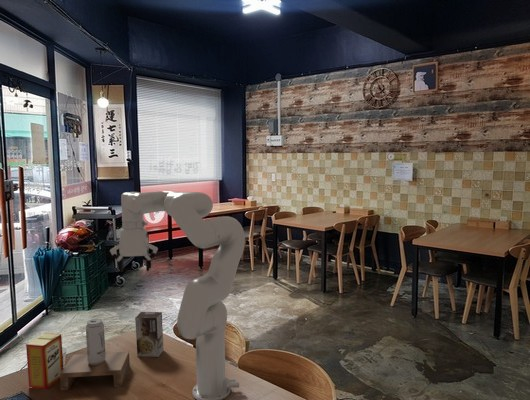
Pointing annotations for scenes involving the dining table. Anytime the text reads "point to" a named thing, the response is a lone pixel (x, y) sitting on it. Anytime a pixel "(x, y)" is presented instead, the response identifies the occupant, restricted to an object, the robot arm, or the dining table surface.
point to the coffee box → (149, 334)
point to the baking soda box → (44, 360)
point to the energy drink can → (95, 342)
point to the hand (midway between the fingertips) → (135, 270)
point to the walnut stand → (95, 368)
